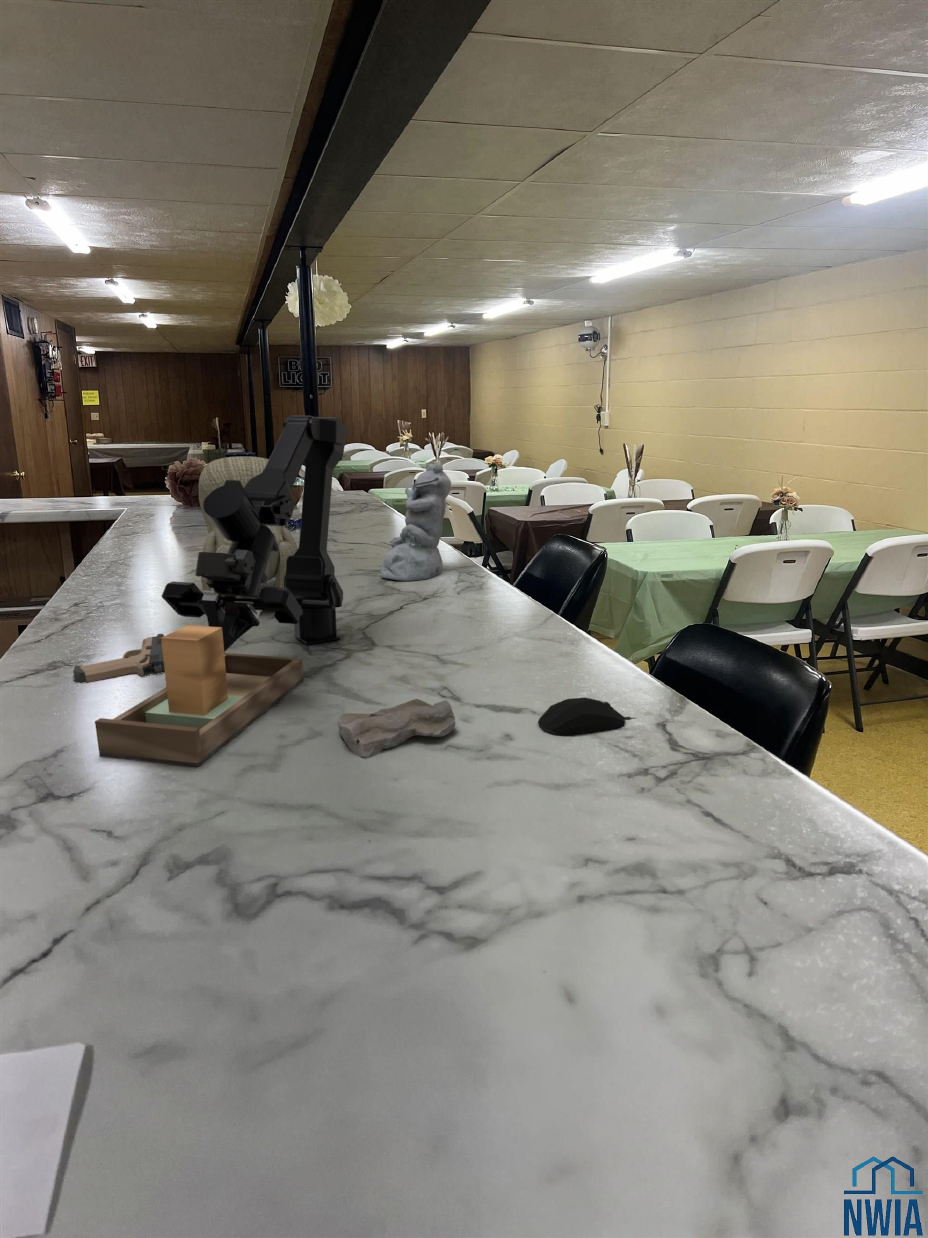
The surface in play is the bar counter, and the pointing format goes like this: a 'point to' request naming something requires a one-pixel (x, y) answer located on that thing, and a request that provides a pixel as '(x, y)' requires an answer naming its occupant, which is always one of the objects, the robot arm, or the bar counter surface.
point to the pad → (165, 717)
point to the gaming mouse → (581, 717)
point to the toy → (243, 471)
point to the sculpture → (420, 529)
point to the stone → (394, 725)
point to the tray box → (191, 746)
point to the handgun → (126, 663)
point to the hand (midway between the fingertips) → (213, 656)
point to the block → (195, 669)
